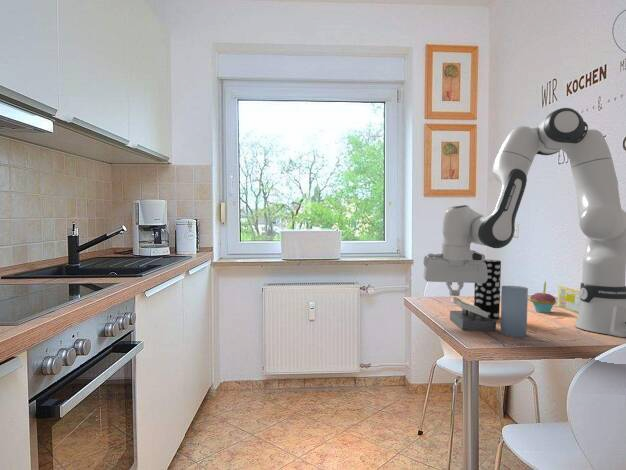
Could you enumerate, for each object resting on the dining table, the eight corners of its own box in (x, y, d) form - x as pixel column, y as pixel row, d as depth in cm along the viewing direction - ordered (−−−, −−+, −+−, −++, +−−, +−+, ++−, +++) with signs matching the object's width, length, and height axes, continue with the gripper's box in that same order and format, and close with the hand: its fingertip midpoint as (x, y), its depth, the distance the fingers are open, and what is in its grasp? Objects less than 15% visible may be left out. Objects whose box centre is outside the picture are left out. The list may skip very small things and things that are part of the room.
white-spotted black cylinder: (497, 315, 147) (498, 259, 147) (501, 320, 139) (502, 262, 139) (472, 313, 149) (473, 259, 149) (475, 318, 141) (476, 261, 141)
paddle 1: (475, 310, 138) (477, 305, 138) (479, 312, 134) (481, 308, 134) (450, 300, 138) (452, 296, 138) (453, 302, 135) (455, 298, 135)
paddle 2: (483, 315, 131) (485, 310, 131) (487, 317, 127) (489, 312, 127) (456, 304, 131) (458, 300, 131) (459, 307, 128) (461, 302, 128)
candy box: (588, 315, 150) (589, 292, 150) (582, 315, 150) (583, 292, 150) (561, 306, 166) (562, 286, 166) (556, 306, 166) (557, 285, 166)
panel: (479, 320, 140) (480, 306, 139) (495, 330, 126) (496, 316, 125) (449, 319, 140) (450, 305, 140) (462, 330, 126) (462, 315, 126)
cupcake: (559, 314, 150) (560, 282, 150) (534, 313, 151) (535, 281, 151) (549, 309, 158) (550, 278, 158) (526, 308, 160) (527, 278, 159)
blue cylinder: (520, 331, 126) (521, 285, 125) (530, 337, 119) (532, 289, 118) (496, 330, 126) (498, 285, 126) (506, 337, 119) (507, 289, 119)
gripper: (425, 254, 134) (424, 296, 134) (490, 255, 132) (488, 298, 133) (422, 252, 140) (420, 293, 140) (483, 254, 139) (481, 294, 139)
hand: (454, 295), depth 137 cm, fingers closed
